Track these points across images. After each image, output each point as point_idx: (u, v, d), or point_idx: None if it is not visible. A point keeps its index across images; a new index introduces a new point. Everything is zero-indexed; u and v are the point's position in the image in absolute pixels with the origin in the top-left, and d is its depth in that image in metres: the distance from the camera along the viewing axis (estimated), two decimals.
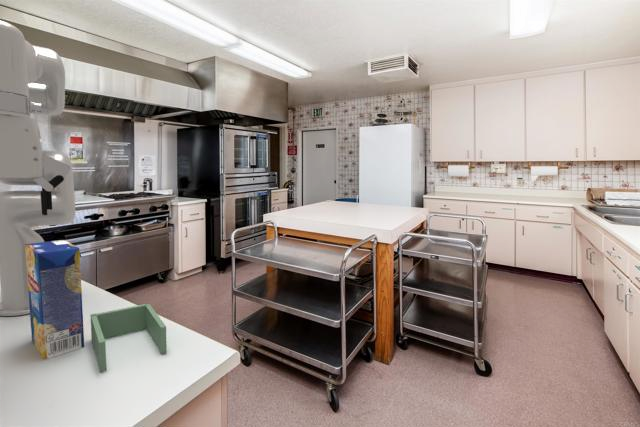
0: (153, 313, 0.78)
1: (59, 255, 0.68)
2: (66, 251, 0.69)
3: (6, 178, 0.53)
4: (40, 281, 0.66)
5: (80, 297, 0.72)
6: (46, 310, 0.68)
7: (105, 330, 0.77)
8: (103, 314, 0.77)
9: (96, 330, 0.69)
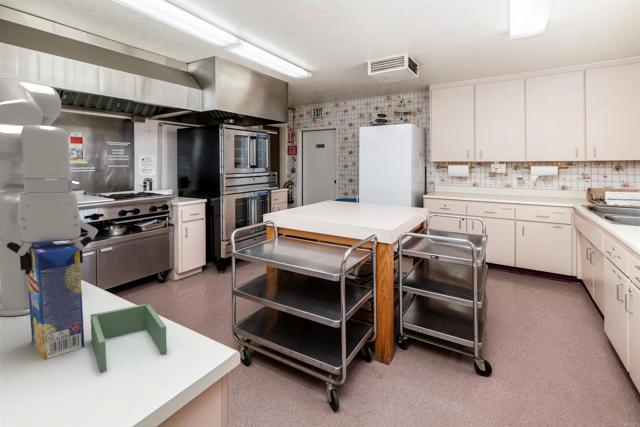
0: (153, 313, 0.78)
1: (59, 255, 0.68)
2: (66, 251, 0.69)
3: (54, 240, 0.70)
4: (40, 281, 0.66)
5: (80, 297, 0.72)
6: (46, 310, 0.68)
7: (105, 330, 0.77)
8: (103, 314, 0.77)
9: (96, 330, 0.69)
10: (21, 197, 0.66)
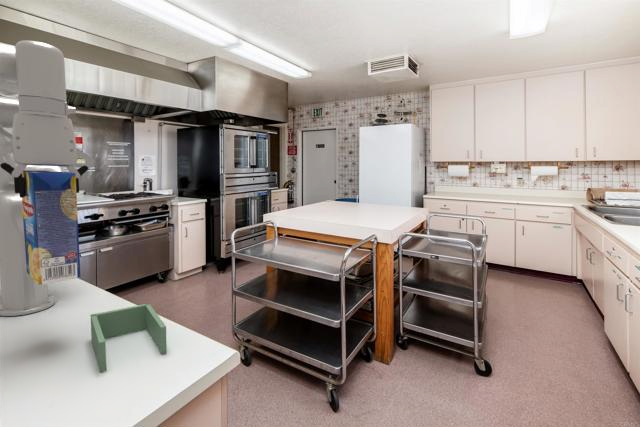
0: (153, 313, 0.78)
1: (54, 177, 0.66)
2: (62, 174, 0.67)
3: (49, 165, 0.68)
4: (35, 202, 0.64)
5: (76, 225, 0.70)
6: (40, 233, 0.66)
7: (105, 330, 0.77)
8: (103, 314, 0.77)
9: (96, 330, 0.69)
10: (15, 115, 0.65)
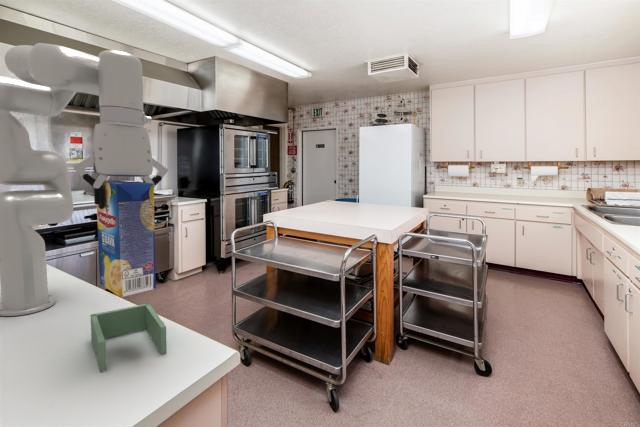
0: (153, 313, 0.78)
1: (135, 188, 0.65)
2: (142, 185, 0.66)
3: (128, 175, 0.67)
4: (118, 213, 0.64)
5: (153, 235, 0.69)
6: (122, 245, 0.65)
7: (105, 330, 0.77)
8: (103, 314, 0.77)
9: (96, 330, 0.69)
10: (98, 126, 0.64)
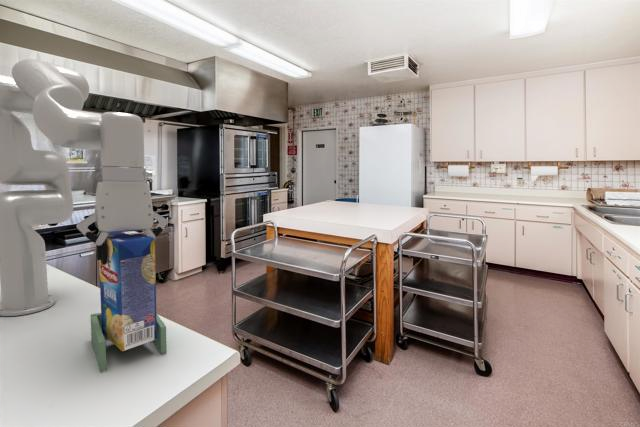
0: None
1: (137, 245, 0.67)
2: (143, 241, 0.68)
3: (129, 230, 0.69)
4: (120, 271, 0.65)
5: (154, 288, 0.71)
6: (124, 300, 0.66)
7: None
8: None
9: (96, 330, 0.69)
10: (100, 185, 0.65)
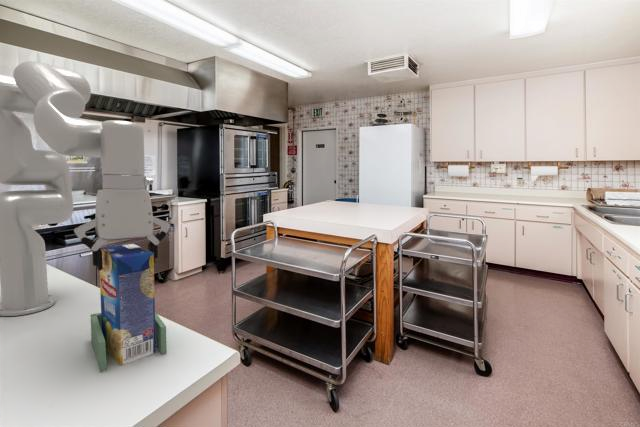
0: None
1: (136, 260, 0.67)
2: (142, 256, 0.68)
3: (130, 238, 0.69)
4: (118, 286, 0.65)
5: (153, 302, 0.71)
6: (122, 315, 0.67)
7: None
8: None
9: (96, 330, 0.69)
10: (100, 193, 0.65)
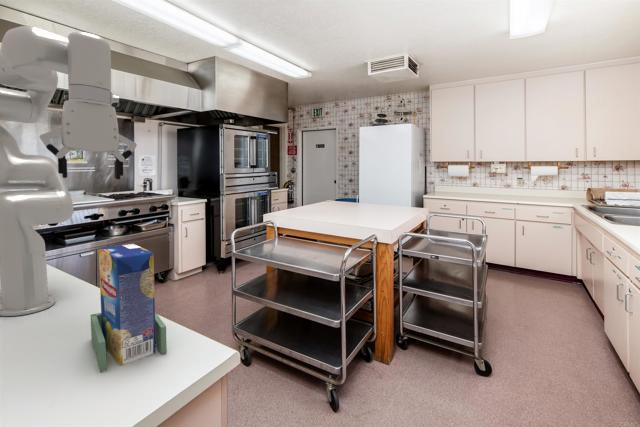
0: None
1: (136, 260, 0.67)
2: (142, 256, 0.68)
3: (95, 150, 0.72)
4: (118, 286, 0.65)
5: (153, 302, 0.71)
6: (122, 315, 0.67)
7: None
8: None
9: (96, 330, 0.69)
10: (66, 103, 0.69)
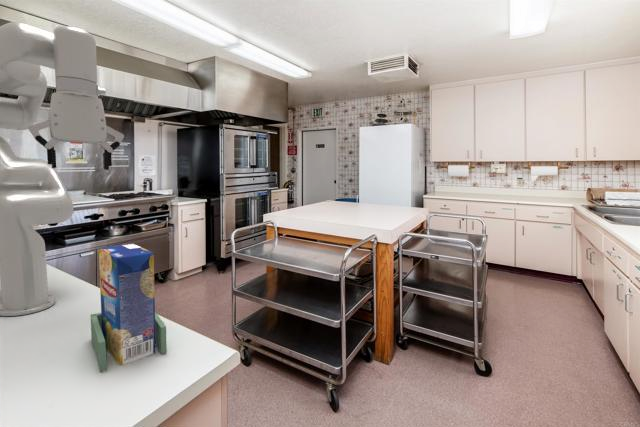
0: None
1: (136, 260, 0.67)
2: (142, 256, 0.68)
3: (83, 141, 0.74)
4: (118, 286, 0.65)
5: (153, 302, 0.71)
6: (122, 315, 0.67)
7: None
8: None
9: (96, 330, 0.69)
10: (53, 95, 0.71)
